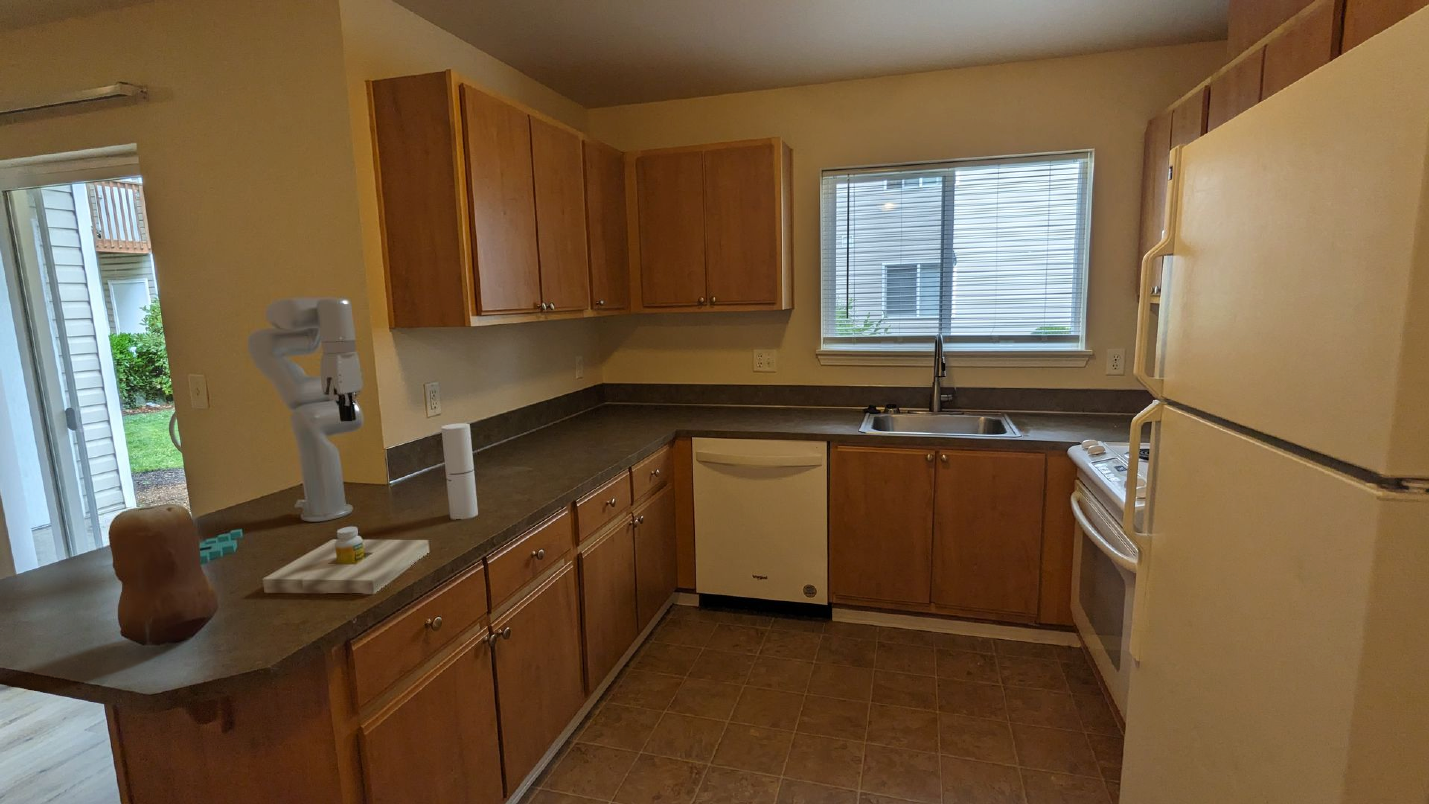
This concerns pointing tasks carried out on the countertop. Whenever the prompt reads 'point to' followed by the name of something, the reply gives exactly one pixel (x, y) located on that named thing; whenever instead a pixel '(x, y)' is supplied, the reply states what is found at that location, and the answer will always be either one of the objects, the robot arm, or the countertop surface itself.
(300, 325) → the robot arm
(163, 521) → the butternut squash
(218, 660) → the countertop surface
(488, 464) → the countertop surface
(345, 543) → the supplement bottle
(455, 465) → the cylindrical container
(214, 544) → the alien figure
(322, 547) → the socket board
